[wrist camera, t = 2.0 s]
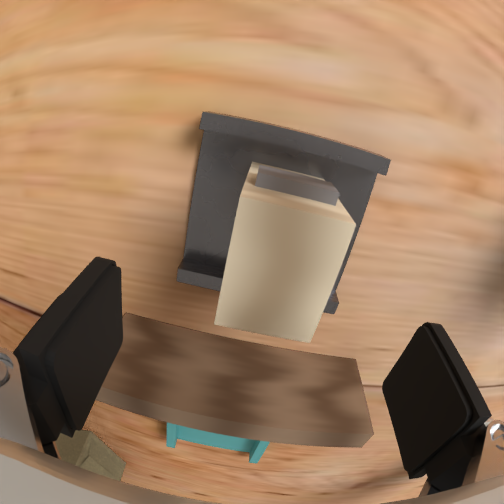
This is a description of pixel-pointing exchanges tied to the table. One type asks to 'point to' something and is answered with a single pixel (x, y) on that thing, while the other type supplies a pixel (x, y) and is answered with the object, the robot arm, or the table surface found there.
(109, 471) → the tissue box
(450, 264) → the table surface
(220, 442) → the teal square tray
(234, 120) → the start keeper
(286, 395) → the door panel
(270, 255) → the block
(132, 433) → the table surface
